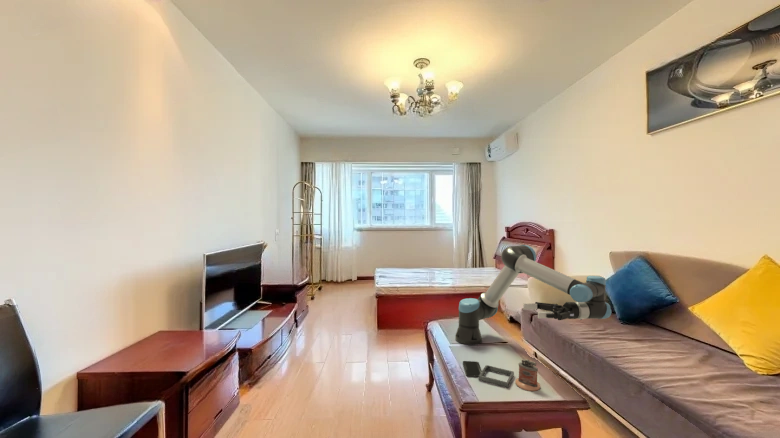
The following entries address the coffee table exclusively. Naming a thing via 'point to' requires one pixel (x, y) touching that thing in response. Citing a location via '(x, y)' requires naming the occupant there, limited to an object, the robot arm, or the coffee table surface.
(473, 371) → the phone
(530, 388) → the coaster
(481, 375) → the holder frame
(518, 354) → the coffee table surface
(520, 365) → the lighter
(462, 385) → the coffee table surface
